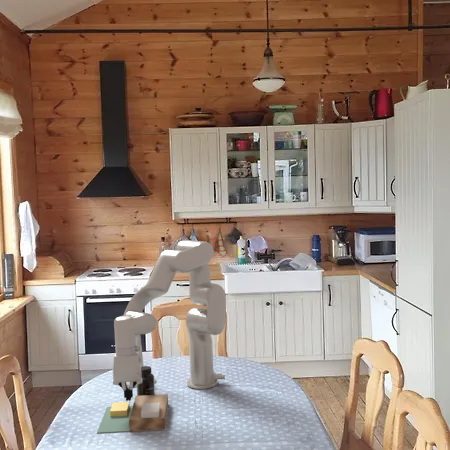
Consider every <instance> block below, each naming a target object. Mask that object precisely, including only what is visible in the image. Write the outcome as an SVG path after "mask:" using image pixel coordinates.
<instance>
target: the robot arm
mask: <svg viewBox="0 0 450 450" xmlns="http://www.w3.org/2000/svg"><path fill="white" fill-rule="evenodd" d="M175 248H176V249H166V250H163V251H162V252H161V253H160V254H159V256H158V259H157V260H156V263H155V265H154V267H153V268H152V269H153V270H152V272H151V274H150V276H149V277H148V281H147V282H146V284H144V285H143V286H142V287H141V288H140V289H139V290H138V291H137V292H136V293H135V294H134V295H133V296H132V297H131V299H130V300H129V301H128V304H127V306H126V308H125V310H124V313H123V315H121V316H118V317H115V319H114V320H113V327H114V344H115V346H114V347H115V353H114V354H113V360H112V361H113V362H112V378H113V381H112V385H114V386H119V387H120V388H121V389H122V390H123V398H124V399H125V402H131V400H132V398H133V397H134V395H133V394H134V393H133V392H134V391H133V389H135V388H134V387H135V386H136V385H137V384H141V383H142V382H143V380H142V377H141V376H142V369H141V360H140V355H139V352H137V351H138V350H140V349H141V348H140V347H138V346H137V344H136V335H139V334H140V335H148V334H150V333H152V332H154V331H155V329H156V328H157V326H158V322H157V318H156V317H155V316H154V315H153V314H151V313H147V312H143V311H144V309H145V307H146V306H147V305H148V304H149V303H150V302H151V301H153V300H155V299H157V298H160V297H162V296H164V295H166V294H167V293H168V292H169V290H170V287H171V284H172V283H173V281H174V278H175V276H176V274H177V273H179V274H186V273H189V300H190V302H191V303H192V304H193V305H198V306H202V307H206V308H202V307H193V308H192V309H190V310H189V311H187V313H186V316H185V325H186V330H187V334H188V345H189V347H188V349H189V351H188V352H189V366H190V367H189V371H190V378H189V379H188V380H187V383H186V384H187V385H186V386H188V387H189V388H190V389H194V390H205V389H206V390H207V389H211V388H214V387H216V386H217V385H218V381H219V380H225V379H226V377H225V374H223V373H215V370H214V355H213V354H214V353H213V352H214V351H213V348H214V347H213V338H212V336H219V335H221V334H222V332H223V331H224V330H225V327H226V321H227V319H226V317H227V296H226V291H225V289H224V288H223V286H221V285H220V284H217V283H212V282H211V269H210V265H209V262H211V261H212V259H213V257H214V247H213V245H212V244H211V243H209V242H207V241H202V240H201V241H200V240H190V239H189V240H188V239H185V240H181V241H179V242H178V243H177V245H176V247H175ZM126 382H130V386H129V387H128V386H127V384H126Z"/></svg>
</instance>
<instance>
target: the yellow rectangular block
mask: <svg viewBox="0 0 450 450" xmlns="http://www.w3.org/2000/svg"><path fill="white" fill-rule="evenodd" d="M130 406H131V405H130V401H124V402H123V401H121V402H113V403H112V405H111V406H110V407H111V410H110V417H114V416H127V414H128V411H129V407H130Z"/></svg>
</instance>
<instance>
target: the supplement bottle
mask: <svg viewBox="0 0 450 450" xmlns="http://www.w3.org/2000/svg"><path fill="white" fill-rule="evenodd" d="M141 369H142V376H141V377H142V380H143V382H142V383H141V384H137V388H136V396H143V395H156V391H155V387H156V386H155V383H154V378H155V375H154V374H153V373H152V367H151V366H150V365H144V366H143V367H141Z"/></svg>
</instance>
